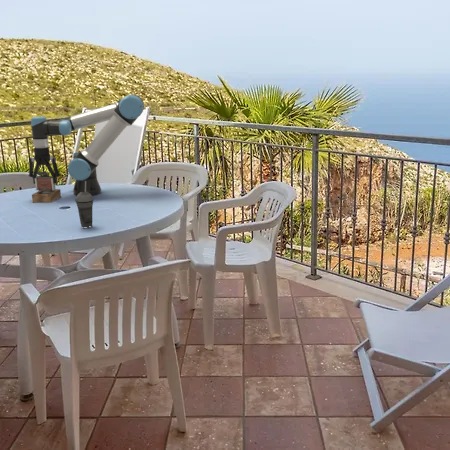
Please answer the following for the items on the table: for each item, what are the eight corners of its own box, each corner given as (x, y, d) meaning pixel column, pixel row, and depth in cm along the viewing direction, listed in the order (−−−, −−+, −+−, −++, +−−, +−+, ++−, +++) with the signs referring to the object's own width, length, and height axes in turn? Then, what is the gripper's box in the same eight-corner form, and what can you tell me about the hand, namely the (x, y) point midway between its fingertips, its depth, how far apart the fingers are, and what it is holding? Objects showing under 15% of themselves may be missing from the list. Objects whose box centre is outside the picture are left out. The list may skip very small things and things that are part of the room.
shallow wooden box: (61, 196, 278) (60, 189, 277) (51, 202, 265) (50, 194, 264) (43, 196, 279) (42, 189, 278) (32, 202, 265) (31, 194, 264)
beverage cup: (79, 224, 223) (75, 179, 217) (96, 224, 223) (92, 179, 218) (76, 229, 216) (72, 183, 210) (94, 228, 216) (90, 182, 211)
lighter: (54, 189, 272) (52, 171, 269) (51, 191, 269) (49, 172, 266) (40, 189, 273) (38, 171, 270) (37, 190, 269) (35, 172, 267)
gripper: (63, 146, 267) (67, 188, 274) (24, 146, 268) (29, 188, 275) (58, 147, 260) (62, 191, 266) (18, 147, 261) (23, 191, 267)
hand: (45, 189), depth 270 cm, fingers closed on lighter, 8 cm apart
